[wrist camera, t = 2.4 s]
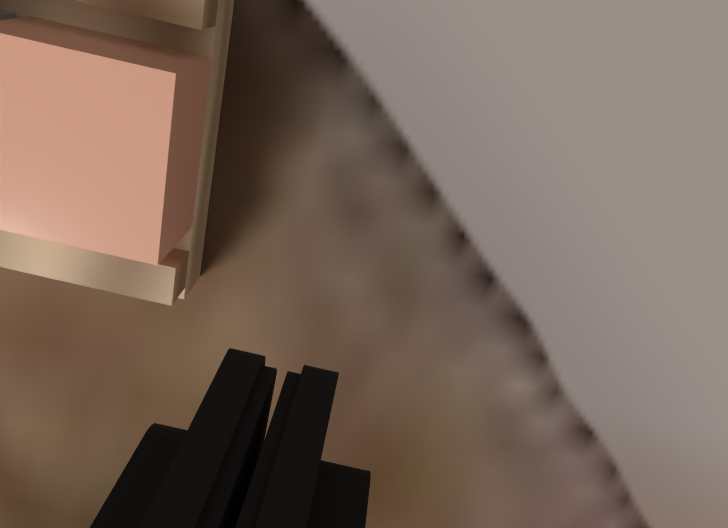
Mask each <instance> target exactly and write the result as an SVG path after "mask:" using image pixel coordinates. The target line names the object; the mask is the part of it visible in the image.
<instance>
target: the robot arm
mask: <svg viewBox="0 0 728 528" xmlns="http://www.w3.org/2000/svg"><path fill="white" fill-rule="evenodd" d="M265 359H266V358H265V356H262V355H258V354H253V353H249V352H245V351H240V350H236V349H231V348H230V349H229V350H228V351H227V353H226V355H225V357H224V359H223V361H222V363H221V365H220V367H219V369H218V371H217V373H216V375H215V377H214V379H213V381H212V383H211V385H210V387H209V389H208V391H207V393H206V395H205V397H204V399H203V401H202V403H201V405H200V407H199V409H198V411H197V413H196V415H195V417H194V419H193V421H192V423H191V425H190V427H189V429H188V430H183V429H179V428H174V427H170V426H165V425H161V424H156V423H154V424H153V425H151V426H150V427H149V429H148V430H147V432H146V433H145V435H144V436H143V438H142V440H141V442H140V443H139V445H138V447H137V448H136V450H135V452H134V453H133V455H132V457H131V459H130V460H129V462H128V464H127V465H126V467H125V469H124V470H123V472H122V474H121V476H120V477H119V479H118V481H117V482H116V484H115V486H114V487H113V489H112V491H111V493H110V494H109V496H108V498H107V499H106V501H105V503H104V504H103V506H102V508H101V510H100V511H99V513H98V515H97V516H96V518H95V520H94V522H93V523H92V525H91V527H90V528H365V524H366V515H367V505H368V496H369V487H370V471H366V470H362V469H357V468H353V467H348V466H344V465H339V464H335V463H330V462H326V461H322V460H321V455H322V451H323V446H324V441H325V436H326V432H327V427H328V422H329V418H330V413H331V408H332V403H333V399H334V394H335V389H336V384H337V380H338V375H339V373H338V372H333V371H329V370H324V369H320V368H316V367H311V366H307V365H304V366H303V369H302V373H301V374H298V373H294V372H289V371H288V372H287V375H286V378H285V381H284V384H283V387H282V390H281V393H280V396H279V399H278V402H277V405H276V408H275V411H274V414H273V417H272V419H271V422H270V425H269V428H268V431H267V434H266V437H265V433H266V428H267V422H268V417H269V412H270V406H271V401H272V395H273V390H274V385H275V379H276V374H277V369H276V368H271V367H267V366H265ZM264 438H265V440H264Z"/></svg>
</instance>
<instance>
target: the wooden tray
mask: <svg viewBox="0 0 728 528" xmlns="http://www.w3.org/2000/svg"><path fill="white" fill-rule="evenodd" d="M233 7H234V0H0V9H3V10H7V11H11V12H16V18H19V17H26V16H33V17H37V18H42V19H46V20H50V21H55V22H59V23H63V24H68V25H72V26H77V27H81V28H85V29H90V30H94V31H98V32H103V33H107V34H111V35H116V36H120V37H124V38H129V39H133V40H137V41H142V42H146V43H150V44H155V45H159V46H163V47H168V48H172V49H176V50H181V51H185V52H189V53H194V54H198V55H202V56H207V57H211V58H212V61H211V69H210V78H209V87H208V95H207V104H206V113H205V121H204V130H203V138H202V147H201V156H200V164H199V173H198V182H197V190H196V199H195V207H194V216H193V225H192V227H191V229H190V230H189V231H188V232H187V233H186V234H185V235H184V236H183V238H182V239H181V240H180V241H179V242H178V243H177V244H176V245H175V247H174V248H173V249H172V250H171V251H170V252H169V253H168V254H167V256H166V257H165V258H164V259H163V260H162V261H161V262H160V263H159V264H158V266H157V265H153V264H149V263H144V262H140V261H135V260H131V259H127V258H122V257H118V256H113V255H109V254H105V253H100V252H96V251H92V250H87V249H83V248H78V247H74V246H70V245H65V244H61V243H56V242H52V241H48V240H43V239H39V238H35V237H30V236H26V235H21V234H17V233H13V232H8V231H4V230H0V267H4V268H8V269H12V270H17V271H21V272H26V273H30V274H34V275H39V276H43V277H47V278H52V279H56V280H61V281H65V282H69V283H74V284H78V285H83V286H87V287H91V288H96V289H100V290H105V291H109V292H113V293H118V294H122V295H127V296H131V297H135V298H140V299H144V300H149V301H153V302H157V303H162V304H166V305H170V306H172V305H173V303H174V302H175V301H176V299H177V298H181V299H184V298H185V297H186V296H187V294H188V293H189V291H190V290H191V289H192V287H193V286H194V285H195V283H196V282H197V280H198V279H199V278H200V272H201V264H202V256H203V248H204V240H205V232H206V224H207V216H208V208H209V200H210V192H211V184H212V176H213V168H214V160H215V152H216V144H217V136H218V128H219V120H220V112H221V103H222V95H223V87H224V79H225V71H226V63H227V55H228V47H229V39H230V31H231V23H232V15H233Z"/></svg>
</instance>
